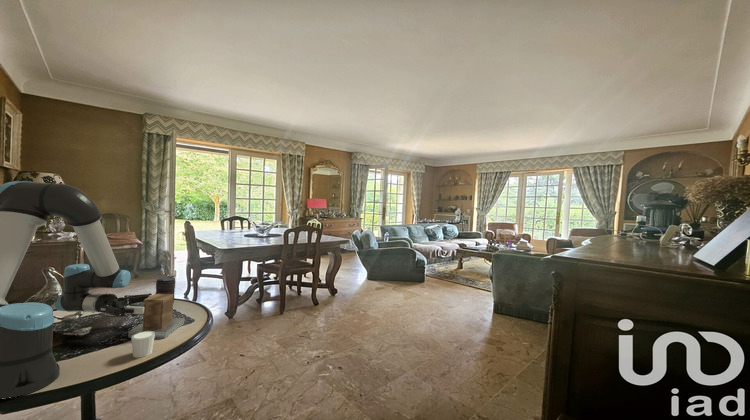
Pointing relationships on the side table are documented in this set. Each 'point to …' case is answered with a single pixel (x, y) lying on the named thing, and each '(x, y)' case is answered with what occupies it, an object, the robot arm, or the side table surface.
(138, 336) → the pale grey tapered cylinder
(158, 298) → the wooden brick
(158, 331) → the joystick
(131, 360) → the side table surface
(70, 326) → the side table surface
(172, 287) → the camera lens
